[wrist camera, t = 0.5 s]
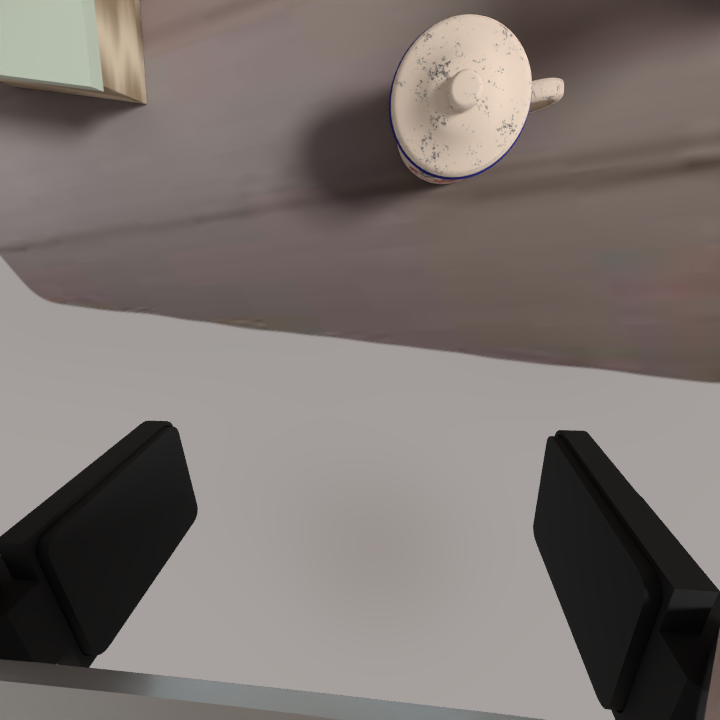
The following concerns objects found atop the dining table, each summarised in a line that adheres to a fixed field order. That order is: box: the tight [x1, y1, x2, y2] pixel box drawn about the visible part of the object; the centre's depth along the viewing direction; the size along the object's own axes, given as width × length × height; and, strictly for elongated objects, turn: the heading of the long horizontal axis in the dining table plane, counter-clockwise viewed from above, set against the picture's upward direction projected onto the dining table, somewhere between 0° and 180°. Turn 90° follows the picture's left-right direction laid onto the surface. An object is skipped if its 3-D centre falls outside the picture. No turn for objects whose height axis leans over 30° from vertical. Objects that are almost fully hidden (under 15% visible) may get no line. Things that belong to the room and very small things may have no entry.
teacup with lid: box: [389, 14, 564, 184], centre depth 27 cm, size 12×9×12 cm
